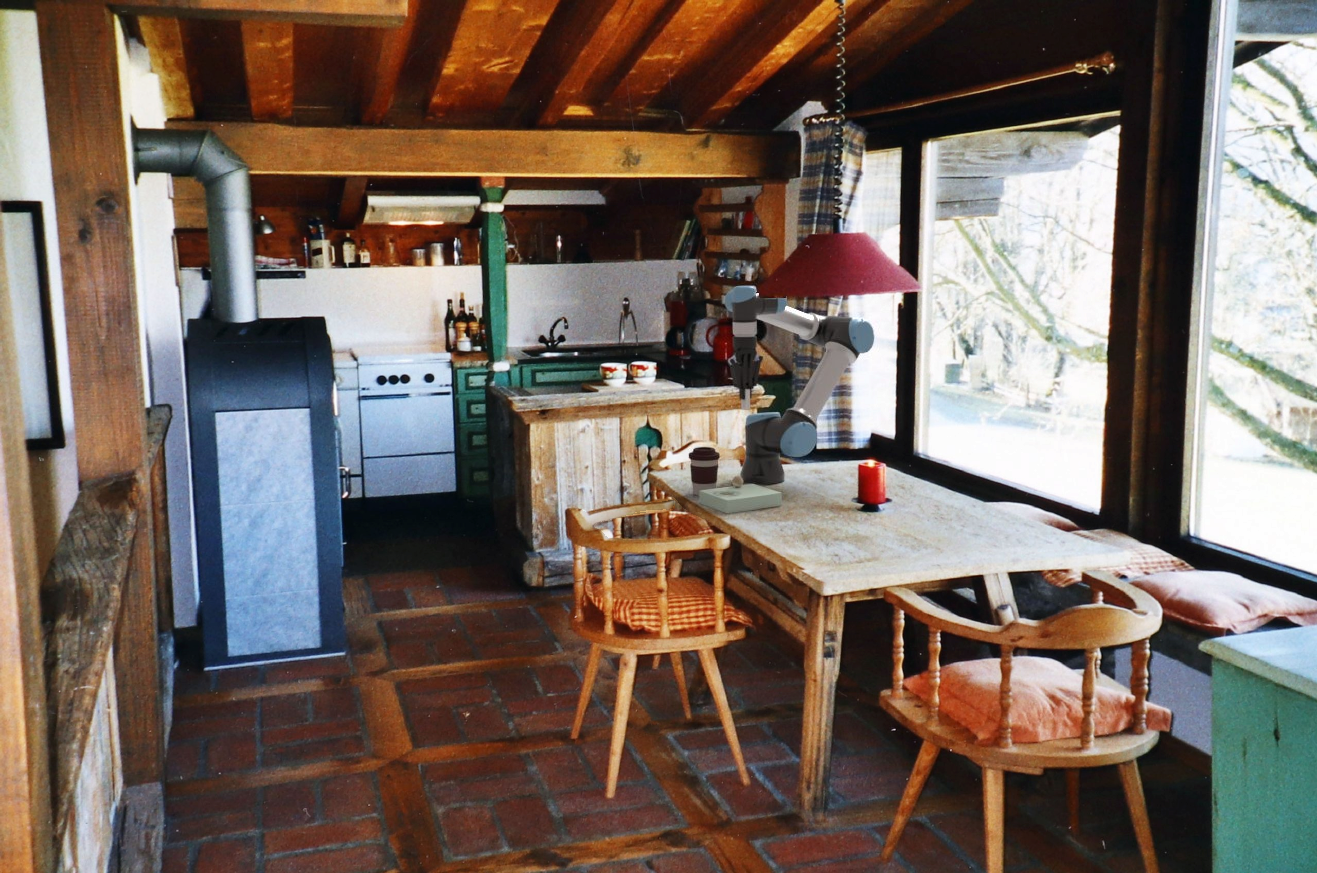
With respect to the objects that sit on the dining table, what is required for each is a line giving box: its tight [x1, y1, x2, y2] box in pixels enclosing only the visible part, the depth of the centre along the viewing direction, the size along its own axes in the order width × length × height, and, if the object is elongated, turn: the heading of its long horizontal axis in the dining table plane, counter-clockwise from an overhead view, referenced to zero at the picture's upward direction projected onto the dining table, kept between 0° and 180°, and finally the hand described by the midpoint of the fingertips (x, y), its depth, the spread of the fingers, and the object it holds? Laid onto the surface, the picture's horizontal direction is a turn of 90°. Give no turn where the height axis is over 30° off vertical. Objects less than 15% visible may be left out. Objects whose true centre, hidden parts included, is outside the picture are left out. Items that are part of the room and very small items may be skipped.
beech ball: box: [731, 475, 744, 487], centre depth 360 cm, size 4×4×4 cm
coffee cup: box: [688, 446, 720, 497], centre depth 368 cm, size 10×10×15 cm
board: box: [698, 483, 783, 514], centre depth 354 cm, size 20×16×4 cm
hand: (745, 409), depth 365 cm, fingers closed
